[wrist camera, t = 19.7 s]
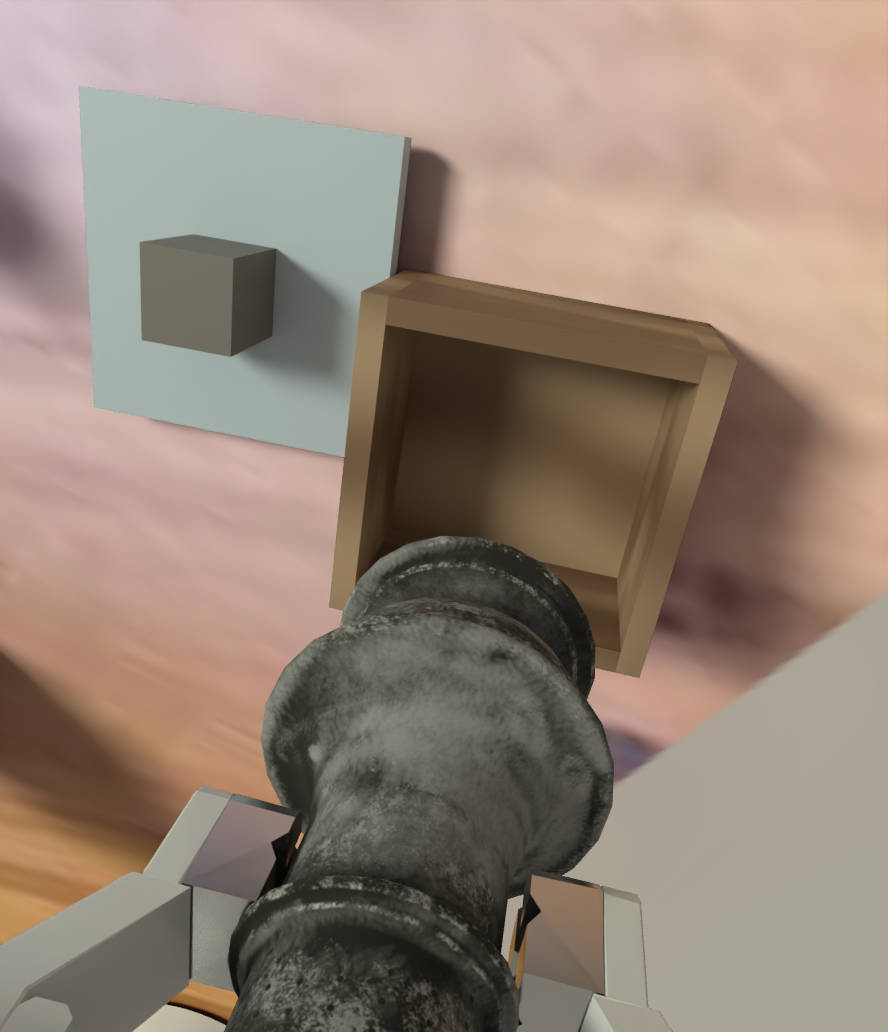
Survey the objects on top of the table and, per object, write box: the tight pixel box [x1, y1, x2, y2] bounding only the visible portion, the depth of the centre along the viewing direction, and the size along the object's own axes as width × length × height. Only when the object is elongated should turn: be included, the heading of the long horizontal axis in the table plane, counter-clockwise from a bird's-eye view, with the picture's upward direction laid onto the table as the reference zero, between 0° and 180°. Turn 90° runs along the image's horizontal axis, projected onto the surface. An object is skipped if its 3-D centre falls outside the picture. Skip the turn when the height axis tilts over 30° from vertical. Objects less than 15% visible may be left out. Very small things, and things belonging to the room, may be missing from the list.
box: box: [329, 269, 738, 678], centre depth 27 cm, size 11×11×6 cm
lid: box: [79, 86, 412, 457], centre depth 27 cm, size 11×11×6 cm
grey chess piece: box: [224, 536, 614, 1032], centre depth 11 cm, size 6×6×12 cm
